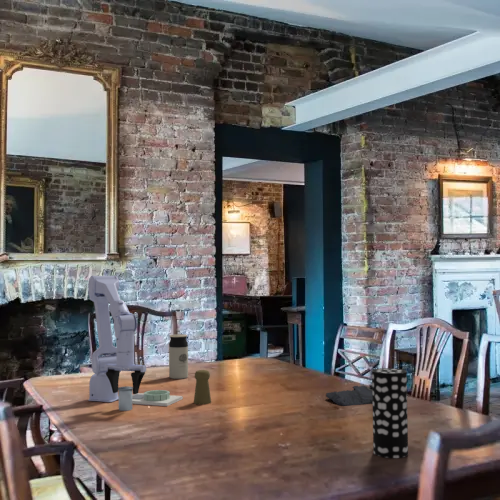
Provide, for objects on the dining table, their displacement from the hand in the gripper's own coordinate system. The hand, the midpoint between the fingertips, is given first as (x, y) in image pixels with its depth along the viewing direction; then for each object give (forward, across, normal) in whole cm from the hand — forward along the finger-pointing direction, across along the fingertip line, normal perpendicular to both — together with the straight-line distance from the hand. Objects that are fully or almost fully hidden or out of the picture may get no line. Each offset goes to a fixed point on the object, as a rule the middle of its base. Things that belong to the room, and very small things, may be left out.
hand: (125, 393), depth 199 cm
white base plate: (+5, +2, +14) cm, 15 cm away
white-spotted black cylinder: (+6, +88, -22) cm, 91 cm away
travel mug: (+5, -10, +59) cm, 60 cm away
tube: (+5, 0, 0) cm, 5 cm away
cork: (+6, +20, +17) cm, 27 cm away
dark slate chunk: (+6, +70, +37) cm, 80 cm away
